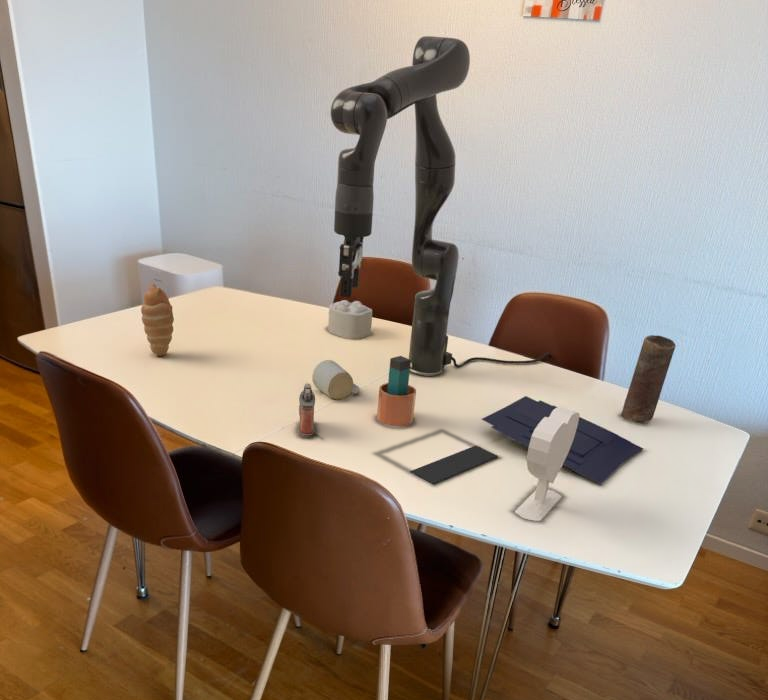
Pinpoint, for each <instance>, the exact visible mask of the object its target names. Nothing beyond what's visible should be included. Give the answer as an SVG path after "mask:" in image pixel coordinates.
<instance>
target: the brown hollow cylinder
mask: <svg viewBox="0 0 768 700" xmlns="http://www.w3.org/2000/svg"><path fill="white" fill-rule="evenodd" d="M676 348H677V347H676V343H675V342H674V341H673V340H672V339H671V338H668V337H665V336H662V335H656V334H655V335H654V334H651V335H647V336H645V337H644V339H643V341H642V345H641V349H640V351H639V355H638V357H637V361H636V364H635V367H634V371H633V375H632V377H631V380H630V381H631V382H630V384H629V388H628V391H627V393H626V397H625V400H624V403H623V405H622V409H621V414H620V415H621V416H622V417H623V418H624V419H625V420H630V421H633V422H636V423H641V424H642V423H647V422H650V421H651V420H653V418H654V416H655V412H656V409H657V406H658V403H659V400H660V396H661V393H662V390H663V387H664V384H665V381H666V380H665V379H666V377H667V374H668V371H669V368H670V365H671V363H672V359H673V356H674V352H675V349H676Z"/></svg>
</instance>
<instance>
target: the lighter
mask: <svg viewBox="0 0 768 700" xmlns="http://www.w3.org/2000/svg"><path fill="white" fill-rule="evenodd" d="M298 403H299V405H298V415H299V423H298V435H299V436H300V438H303V439H311V438H313V437H314V435H315V423H314V422H315V421H314V420H315V405H316V395H315V392H314V391H313V389H312V385H311V383H306V382H305V384H304V385H303V390H302V391H301V392H300V394H299V397H298Z"/></svg>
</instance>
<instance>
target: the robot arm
mask: <svg viewBox="0 0 768 700" xmlns="http://www.w3.org/2000/svg"><path fill="white" fill-rule="evenodd" d="M411 63H412V64H411V65H408V66H404V67H400V68H396V69H393V70H391V71H388V72H387V73H384V74H383V75H381V76H380V77H377V78H376V79H375V80H373V81H370V82H367V83H362V84H358V85H354V86H350V87H347V88H345V89H343V90H341V91H340V92H339V93H338V94H337V95H336V96H335V97H334V98H333V100H332V103H331V105H330V111H329V112H330V119H331V122H332V125H333V126H334V128H335V129H336V130H337V131H339V132H341V133H342V134H343V133H344V134H348V135H356V136H359V137H358V140H357V143H356V145H355V146H354V147H351V148H344V149H342V150H341V151H340V152H339V154H338V158H337V159H338V160H337V179H336V181H337V182H336V190H335V197H334V198H335V199H334V219H333V231H334V233H335V234H337V235H338V236H343V237H344V239H343V242H342V243H341V244H340V245H339V260H338V261H339V263H338V273H337V275H338V277H339V278H340V292H339V293H340V294H339V295H340V297H342V298H351V297H352V295H353V288H355V289H357V288H358V287H359V283H360V281H359V279H360V269H361V267H362V263H363V249H364V238H367V237H369V236H371V234H372V231H373V230H372V228H373V216H374V200H375V199H374V197H375V193H374V181H375V180H374V178H375V167H376V166H375V165H376V161H377V158H378V157H377V156H378V153H379V150H380V146H381V142H382V139H383V137H384V134H385V131H386V126H387V122H388V120H390V119H392V118H394V117H395V116H397V115H399V114H400V113H401V112H403V111H404V110H407V108H410V107H412V106H414V116H415V157H414V185H415V186H414V187H415V192H414V193H415V194H414V195H415V198H414V199H415V201H414V203H415V206H414V208H415V209H414V226H413V237H412V238H413V239H412V248H411V249H412V250H411V266H412V271H413V273H414V274H415V275H416V276H418V277H420V278H424V279H428V280H433V281H435V286H434V287H433V288H431V289H427V290H421V291H419V292H417V293H415V296H414V302H413V312H412V323H411V331H410V340H409V341H410V342H409V350H408V351H409V352H408V359H410V360H411V363H410V373H412V374H415V375H417V376H422V377H435V376H440V374H442V373H443V371H445V366H447V365H451V364H452V362H453V366H454V367H455V368H461V367H464V366H465V365H467V364H468V363H470V362H473V361H489V362H493V363H500V364H501V363H502V364H510V365H511V364H515V365H516V364H532V363H533V364H534V363H538V362H540V361H542V360H543V359H544V358H546V357H547V356H548V357H549V358H553V355H552V354H551V353H550V352H546V353H544V354H542V355H541V356H540V357H539V358H537V359H530V360H505V359H504V360H503V359H496V358H490V357H482V356H481V357H480V356H477V357H470V358H467V360H465V361H464V362H462V364H458V363H457V360H456V358H455V357H453V353H451V352H449V351H447V349H448V343H449V336H448V335H447V333H448V332H447V331H448V326H449V325H448V324H449V317H450V309H451V303H452V298H453V295H454V290H455V283H456V278H457V272H458V267H459V260H460V259H459V258H460V253H459V248H458V246H457V245H456V244H455V243H453V242H447V241H443V240H437V239H433V226H434V222H435V220H436V217H437V215H438V214H439V212H440V211H441V209H442V207H443V206H444V204H445V203H446V201H447V200H448V198H449V197H450V195H451V193H452V191H453V189H454V187H455V181H456V180H455V179H456V152H455V151H456V150H455V147H454V145H453V142H452V140H451V137H450V136H449V134H448V133H449V132H447V129H446V127H445V125H444V123H443V121H442V118H441V116H440V113H439V112H440V111H439V108H438V107H439V106H438V99H437V95H438V94H441V93H445V92H449V91H452V90H456V89H458V88H459V87H461V86H462V85H463V84H464V82H465V81H466V79H467V77H468V74H469V70H470V64H471V55H470V50H469V47H468V45H467V44H466V42H464V41H463V40H462V39H459V38H456V37H455V38H454V37H445V36H435V35H434V36H432V35H425V36H421V37H420V38H419V39H418V40H417V41H416V44H415V45H414V49H413V54H412V61H411ZM345 269H348V270H345Z"/></svg>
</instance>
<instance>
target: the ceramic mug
mask: <svg viewBox="0 0 768 700" xmlns="http://www.w3.org/2000/svg"><path fill="white" fill-rule="evenodd" d="M311 376H312V377H311V379H312V383H313V386H314V387H315V388H316V389H318V390H319V391H320V392H322V393H323V394H325V395H326V396H327V397H329V398H331V399H333V400H337V401H338V400H343V399H346V398H347V397H348V396H349V395H350V394H354V395H357V394H358V393H359V392H360V386H358V385H357V384H355V383H354V380H353V379H354V378H353V377H352V375H351V374H350V373H349V372H348V371H347V370H346V369H344V367H342V366H341V365H340V364H339V363H337V362H336V361H334V360H333V359H325V360H322V361H320V362H319V363H318V364H316V366H315V368H314V369H313V372H312V375H311Z"/></svg>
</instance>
